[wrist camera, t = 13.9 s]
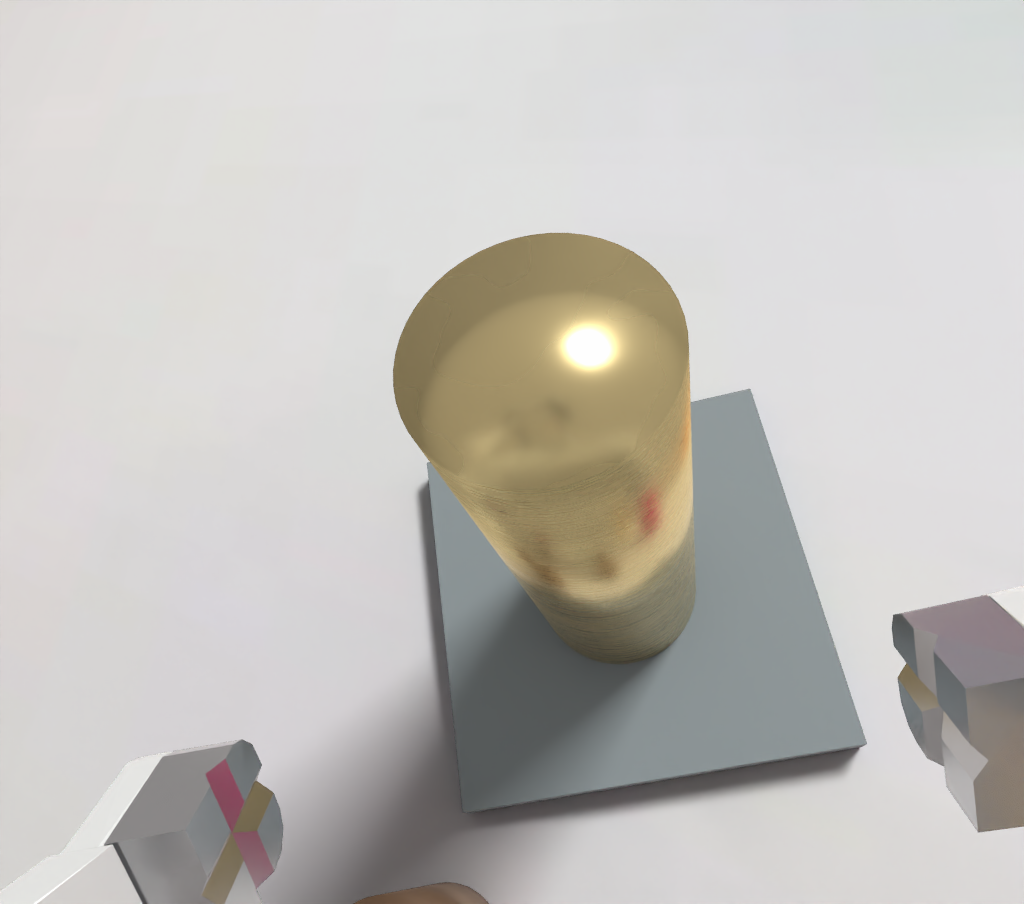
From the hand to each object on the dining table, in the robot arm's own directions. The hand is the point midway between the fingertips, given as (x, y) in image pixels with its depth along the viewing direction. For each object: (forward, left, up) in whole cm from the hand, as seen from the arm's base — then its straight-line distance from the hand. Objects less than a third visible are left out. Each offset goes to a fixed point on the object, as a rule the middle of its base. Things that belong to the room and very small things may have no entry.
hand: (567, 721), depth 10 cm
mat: (+1, +5, -12) cm, 13 cm away
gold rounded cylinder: (+1, +5, -11) cm, 12 cm away
